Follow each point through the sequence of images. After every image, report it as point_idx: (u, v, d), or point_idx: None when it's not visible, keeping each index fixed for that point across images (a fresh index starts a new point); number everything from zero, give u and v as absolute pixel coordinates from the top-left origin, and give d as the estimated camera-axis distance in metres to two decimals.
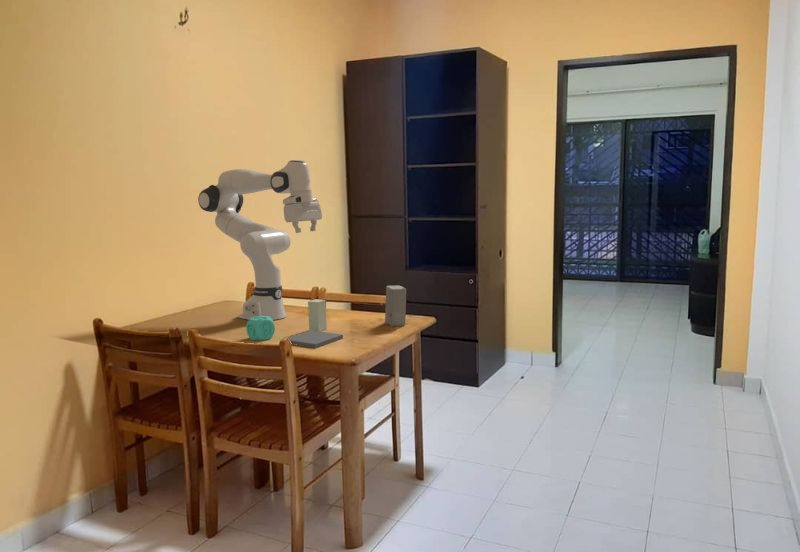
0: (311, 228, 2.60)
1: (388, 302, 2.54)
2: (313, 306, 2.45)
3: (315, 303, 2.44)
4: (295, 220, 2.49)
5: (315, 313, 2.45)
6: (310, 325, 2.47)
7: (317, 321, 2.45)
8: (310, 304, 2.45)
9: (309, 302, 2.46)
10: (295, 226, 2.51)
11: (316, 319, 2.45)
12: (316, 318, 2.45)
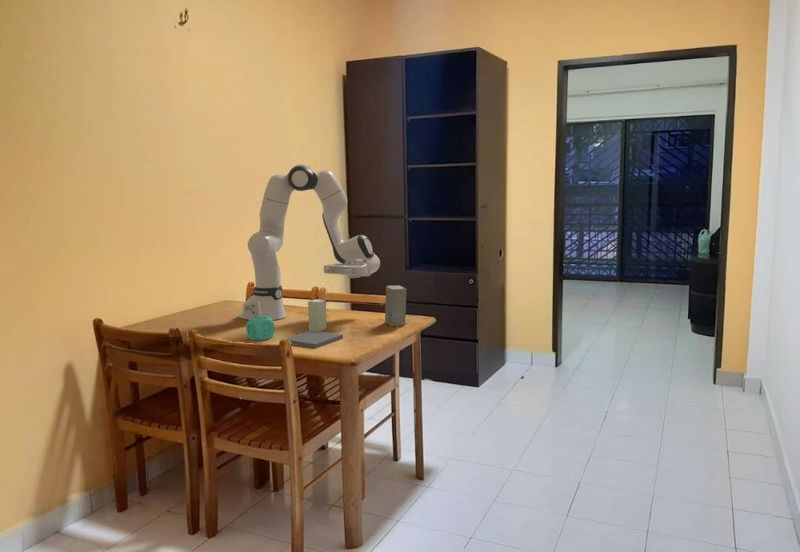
0: (328, 270, 2.59)
1: (388, 303, 2.54)
2: (313, 306, 2.45)
3: (315, 303, 2.44)
4: (356, 275, 2.56)
5: (315, 313, 2.45)
6: (310, 325, 2.47)
7: (317, 321, 2.45)
8: (310, 304, 2.45)
9: (309, 302, 2.46)
10: (349, 272, 2.54)
11: (316, 319, 2.45)
12: (316, 318, 2.45)
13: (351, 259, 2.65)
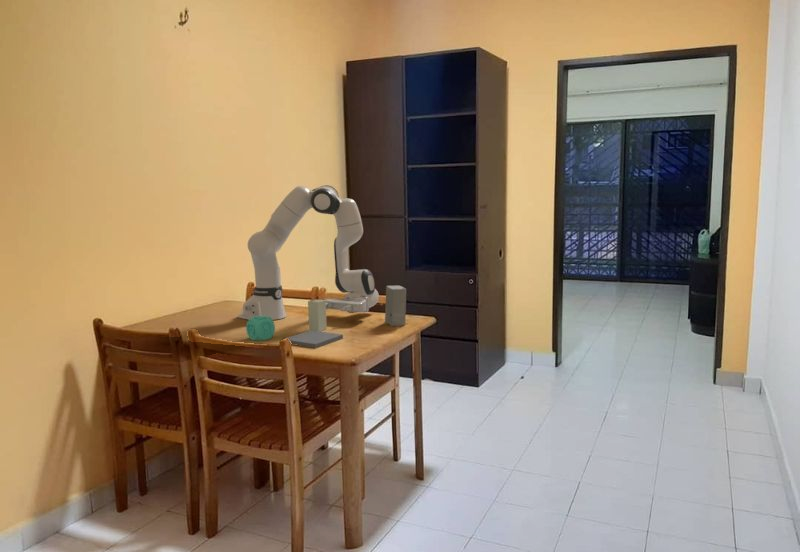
0: (327, 306, 2.59)
1: (388, 303, 2.54)
2: (313, 306, 2.45)
3: (315, 303, 2.44)
4: (354, 311, 2.57)
5: (315, 313, 2.45)
6: (310, 325, 2.47)
7: (317, 321, 2.45)
8: (310, 304, 2.45)
9: (309, 302, 2.46)
10: (348, 308, 2.55)
11: (316, 319, 2.45)
12: (316, 318, 2.45)
13: (350, 294, 2.66)
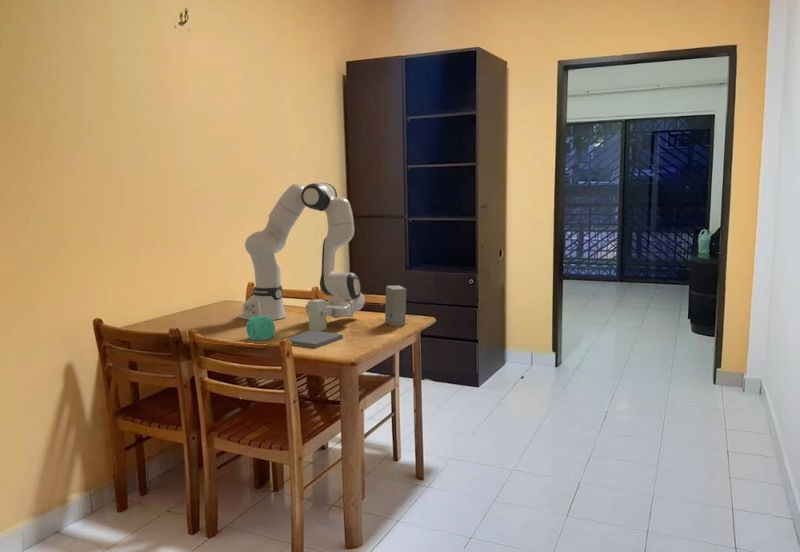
0: None
1: (388, 303, 2.54)
2: (313, 306, 2.45)
3: (315, 303, 2.44)
4: (338, 316, 2.47)
5: (315, 313, 2.45)
6: (310, 325, 2.47)
7: (317, 321, 2.45)
8: (310, 304, 2.45)
9: (309, 302, 2.46)
10: (329, 313, 2.47)
11: (316, 319, 2.45)
12: (316, 318, 2.45)
13: (334, 298, 2.56)
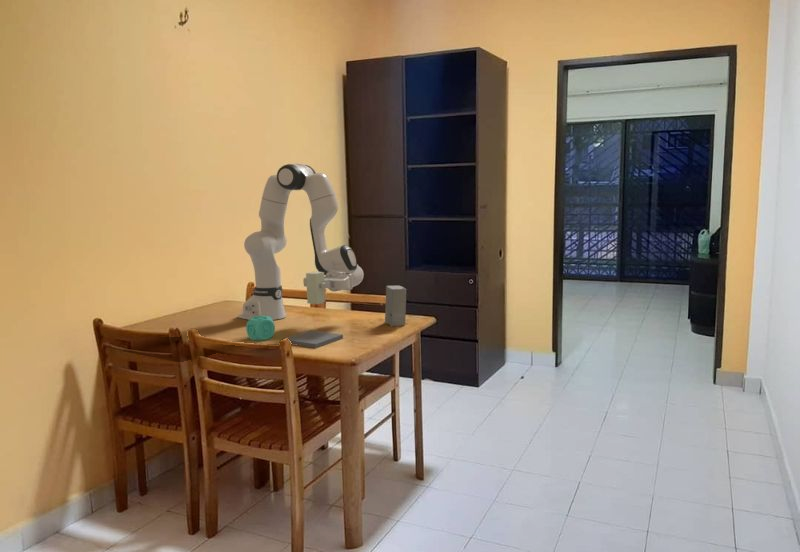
0: None
1: (388, 303, 2.54)
2: (312, 278, 2.39)
3: (313, 275, 2.38)
4: (337, 288, 2.41)
5: (313, 285, 2.39)
6: (308, 298, 2.41)
7: (315, 293, 2.39)
8: (308, 276, 2.39)
9: (307, 274, 2.39)
10: (327, 285, 2.40)
11: (315, 291, 2.39)
12: (314, 291, 2.39)
13: (332, 271, 2.50)
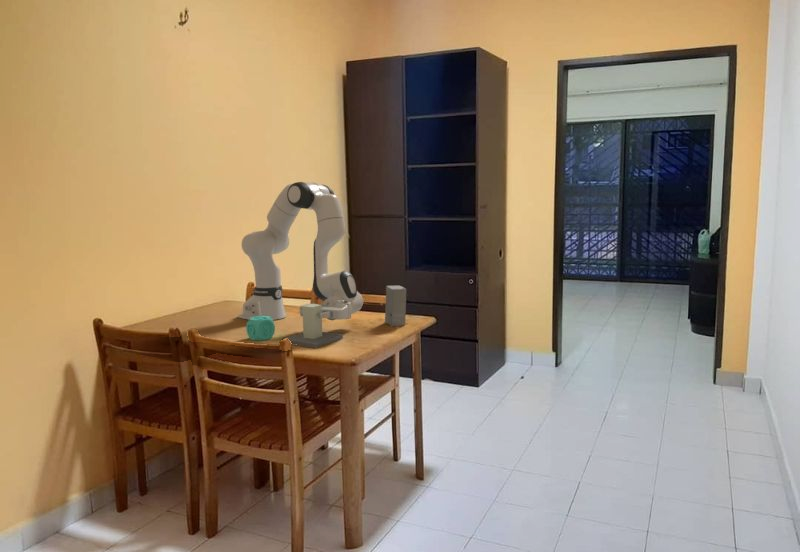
0: None
1: (388, 303, 2.54)
2: (308, 312, 2.27)
3: (309, 308, 2.26)
4: (334, 318, 2.29)
5: (310, 319, 2.27)
6: (304, 332, 2.29)
7: (312, 327, 2.27)
8: (304, 309, 2.27)
9: (303, 307, 2.28)
10: (326, 315, 2.28)
11: (311, 325, 2.27)
12: (311, 325, 2.27)
13: (330, 299, 2.38)
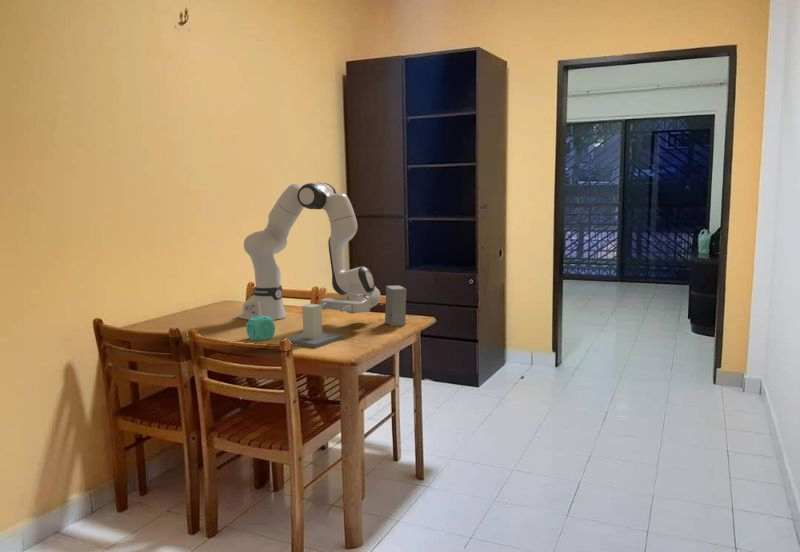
0: (325, 306, 2.43)
1: (388, 303, 2.54)
2: (308, 312, 2.27)
3: (309, 308, 2.26)
4: (355, 311, 2.40)
5: (310, 319, 2.27)
6: (304, 332, 2.29)
7: (312, 327, 2.27)
8: (304, 309, 2.27)
9: (303, 307, 2.28)
10: (348, 308, 2.39)
11: (311, 325, 2.27)
12: (311, 325, 2.27)
13: (350, 293, 2.49)
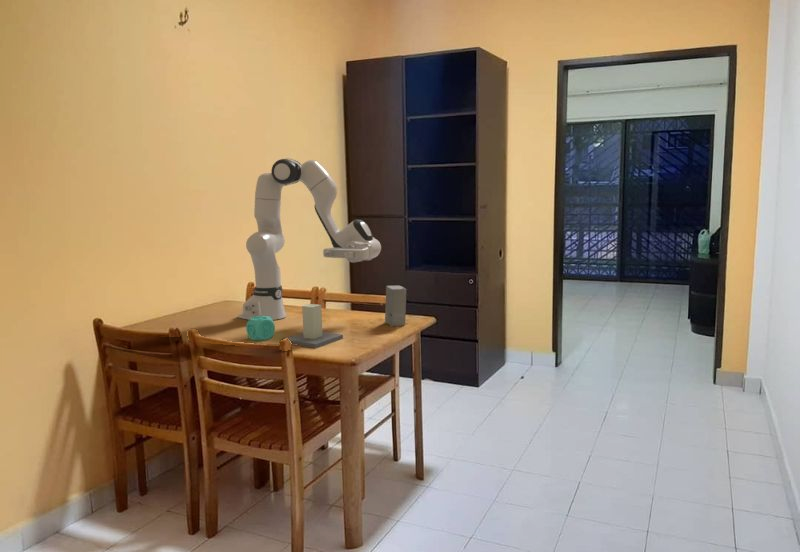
0: (328, 254, 2.50)
1: (388, 303, 2.54)
2: (308, 312, 2.27)
3: (309, 308, 2.26)
4: (356, 258, 2.47)
5: (310, 319, 2.27)
6: (304, 332, 2.29)
7: (312, 327, 2.27)
8: (304, 309, 2.27)
9: (303, 307, 2.28)
10: (350, 255, 2.46)
11: (311, 325, 2.27)
12: (311, 325, 2.27)
13: (352, 243, 2.56)
